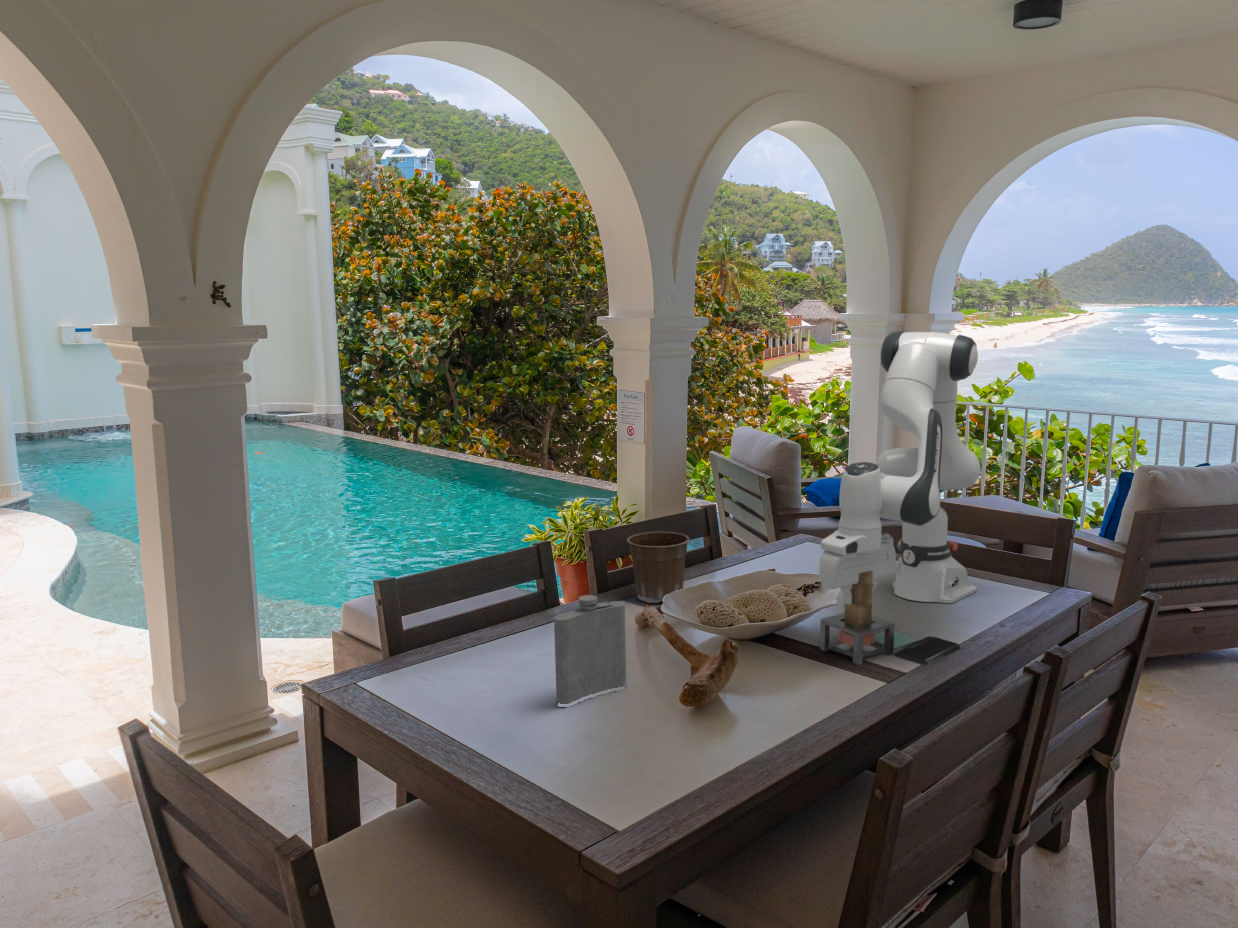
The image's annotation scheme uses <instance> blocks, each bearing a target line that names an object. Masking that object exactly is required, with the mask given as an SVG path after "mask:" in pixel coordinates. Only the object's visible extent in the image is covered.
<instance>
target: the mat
mask: <svg viewBox="0 0 1238 928" xmlns="http://www.w3.org/2000/svg"><path fill="white" fill-rule="evenodd" d="M884 635H885V631H883V632H880V633H876V634H874V644H877V645H880V646H882V647H884ZM917 641H919V639H916V638H913V637H912V636H911V637H910V636H908V635H906V634H905V635H904V634H903V633H899V632H897V631H894V651H897V650H899V649H901V648H904V647H906V646H908V645H910V644H913V643H915V642H917Z"/></svg>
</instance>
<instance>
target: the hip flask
mask: <svg viewBox="0 0 1238 928" xmlns="http://www.w3.org/2000/svg"><path fill="white" fill-rule="evenodd" d="M597 602H598V596H596V595H592V594H585V595H581V596H579V597H578V603H579V608H577V609H573V610H570V611H567V612H564V613H560V614H558V615H555V616H554V617H553V627H554V628H553V629H554V657H555V659H554V661H555V690H556V693H555V694H556V703H557V702H558V703H560V704H569V703H571V702H573V701H576V700H578V699H580V698H582V697H585V696H588V695H590V694H595V693H598V692H601V691H605V690H608V689H612V688H618V687H623V686H625V685H626V686H627V660H626V659H627V656H626V655H627V651H626V649H627V647H626V643H627V642H626V604H625V602H624V601H619V600H618V601H617V600H615V601H609V602H608V601H605V602H598V603H597Z"/></svg>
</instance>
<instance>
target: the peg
mask: <svg viewBox="0 0 1238 928" xmlns="http://www.w3.org/2000/svg"><path fill="white" fill-rule="evenodd" d="M872 583H873V571H868V572H864V573H860V574H859V581H858V583H857V584H853V585H852V589H850V591H851V594H852V595H854V596H855V602H854V603H852V604H846V603H845V602H844V613H845V623H848V624H850V625H853V626H856V627H861V626H864V625H868V624H871V621H872V616H873V613H872V612H873V611H872V610H873V591H872ZM851 635H852V634H851Z"/></svg>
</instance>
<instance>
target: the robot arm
mask: <svg viewBox="0 0 1238 928" xmlns="http://www.w3.org/2000/svg"><path fill="white" fill-rule="evenodd" d="M879 353H880V357H879V358H880V364H881V366H882V368H883V370H884V371H885V372H887V374H886V375H885V376H886V377H885V380H884V383H883V387H882V390H881V394H880V407H881V410H882V413H883V415H884V416H885V417H886V418H887V419H888V420H889V421H890V422H891V423H893V424H894V425H895V426H897V427H899V428H900V429H903V430H905V431H907V432H909V433H911V434H913V435H914V436H916V437H917V439H918V447H898V448H891V449H888V450H887V449H886V450H883V451H882V452H881V453H880V454H879V456H878V457H877V459H876V461H875V463H874V462H869V461H864V462H863V461H860V462H854V463H853V462H852V463H850V464H849V465H846V466H845V468H843V471H842V475H841V480H840V485H839V486H840V489H839V500H838V501H839V504H838V505H839V509H840V519H839V521H838V529H836V530H835V531H834V532H832V533H831V534H829V535H828V536H826V537H825V538H823V539H822V540H821V542H820V549H821V550H823V552H822V553H821V556H820V557H819V558H820V560H819V572H818V573H819V579H818V580H819V582H820V584H821V586H823V587H825V588H828V589H831V590H836V589H840V590H841V593H842V595H843V601H844V604H845V603H846V604H852V603H854V602H855V596H854V595H852V594H851V591H850V589H852V585H853V584H857V583H858V581H859V574H860V573H864V572H868V571H873V583H872V592H874V591H875V588H876V585H877V583H878V579H880V578H885V577H890V576H893V575H894V574H895V581H893V582H892V587H893V593H894V595H896V596H898V597H899V598H902V599H905V600H908V601H909V600H910V601H915V602H916V601H917V602H924V603H942V604H955V603H956V602H958V601H960V600H962V599H964V598H966V597H969V596H970V595H972V594H974V593H977V591H978V587H977V586H975V585H973V584H971V583H969V582H968V571H967V569H966V567H965V566H964V565H963V564H961V563H960V562H958V561H957V560H956V559H955V558H953V556H952V553H951V550H952V551H955V552H956V551H957V550H958V547H959V545H958V543H957V542H952V541H949V542H948V525H949V523H948V522H949V521H948V520H949V517H948V513H947V512H946V511H945V509H944V508H943V507H941V491H955V490H956V491H957V490H962V489H967V488H972V487H973V486H974V485H975V484H976V483H977V481H978V480H979V478H980V474H981V462H980V460H979V458H978V456H977V455H976V453H975V452H974V451H972V450H971V449H970V448H968V447H967V446H966V445H965V444H964V442H963V441H962V440H961V438H960V435H959V434H958V430H957V426H956V421H957V420H956V418H957V417H956V415H957V414H956V412H957V399H958V382H959V381H962V380H966V379H968V378H969V377H970V376H972V374H973V372H974V370H975V368H976V367H977V363H978V359H979V353H978V347H977V342H975V340H974V339H973V338H972V337H969V336H966V335H962V334H958V335H957V334H950V333H946V332H945V333H944V332H937V331H930V332H929V331H907V332H906V331H905V330H900V331H898V330H897V331H894V332H890V333H889V334H888V335H887V336H886V337H885V338H884V340H883V342H882V344H881V347H880V351H879ZM881 519H884V520H885V519H886V520H891V521H899V522H902V523H901V525H902V527H901V528H902V530H901V531H902V532H901V536H902V537H901V538H902V539H901V540H900V543H899V554H900V555H901V556H899V558H898V560H896V559H897V555H896V548H895V546H894V538H893V537H892V536H891V535H890V534H889V533H883V534H882V521H881ZM895 572H896V573H895Z"/></svg>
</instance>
